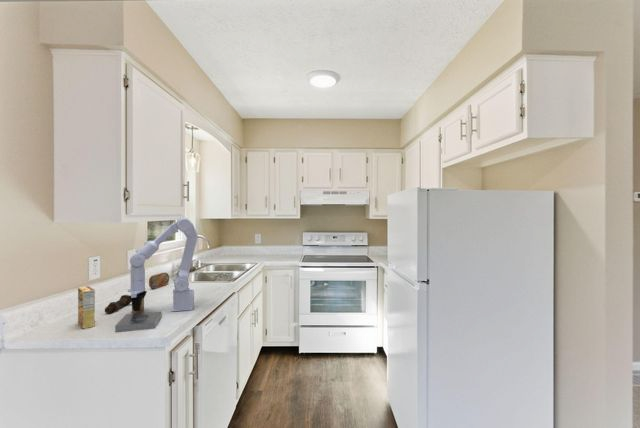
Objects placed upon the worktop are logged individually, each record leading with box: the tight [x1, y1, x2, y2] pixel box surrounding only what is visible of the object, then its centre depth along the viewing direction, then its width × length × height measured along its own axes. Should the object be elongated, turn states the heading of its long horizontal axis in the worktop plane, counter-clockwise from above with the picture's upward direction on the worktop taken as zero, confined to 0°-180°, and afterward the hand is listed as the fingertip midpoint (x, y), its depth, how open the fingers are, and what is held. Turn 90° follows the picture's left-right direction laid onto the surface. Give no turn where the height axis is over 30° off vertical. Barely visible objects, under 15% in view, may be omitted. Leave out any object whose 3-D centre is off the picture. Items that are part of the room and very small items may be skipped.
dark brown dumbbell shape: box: [104, 294, 132, 314], centre depth 151 cm, size 6×5×15 cm
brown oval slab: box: [148, 272, 170, 290], centre depth 194 cm, size 15×3×8 cm, turn 167°
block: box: [131, 297, 145, 314], centre depth 144 cm, size 4×4×7 cm
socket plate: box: [114, 310, 163, 333], centre depth 132 cm, size 14×14×2 cm
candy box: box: [77, 286, 96, 330], centre depth 130 cm, size 9×4×15 cm, turn 49°
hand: (138, 309), depth 144 cm, fingers closed on block, 4 cm apart
